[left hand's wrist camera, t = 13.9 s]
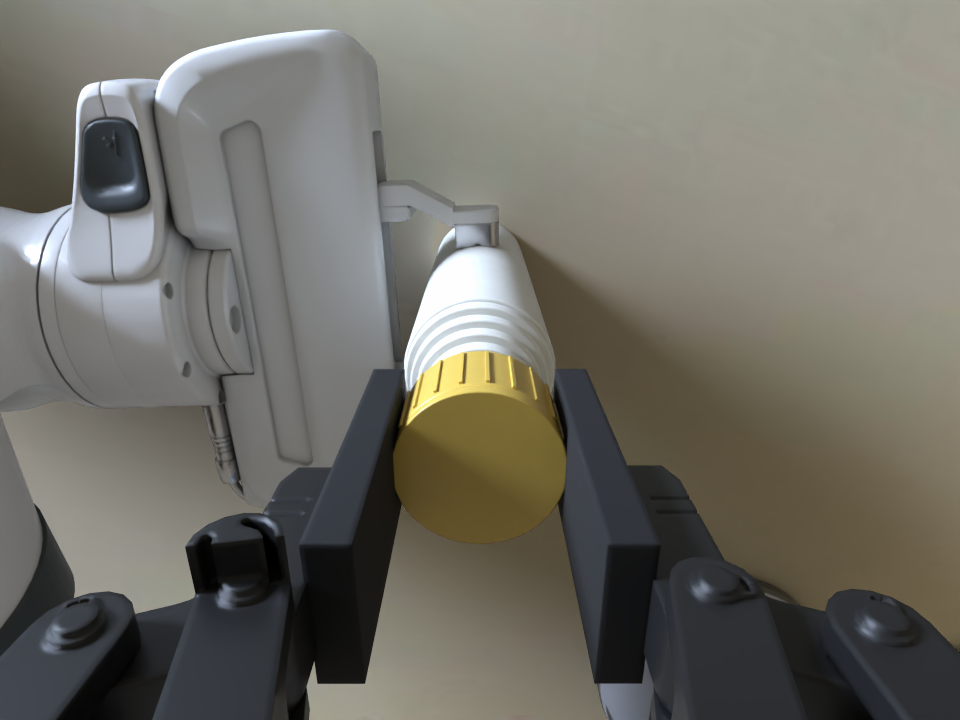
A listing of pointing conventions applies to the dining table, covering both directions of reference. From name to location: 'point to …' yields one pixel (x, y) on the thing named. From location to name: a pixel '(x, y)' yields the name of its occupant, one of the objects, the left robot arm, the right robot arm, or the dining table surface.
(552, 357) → the bottle
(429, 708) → the dining table surface
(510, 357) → the cap
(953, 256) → the dining table surface
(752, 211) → the dining table surface
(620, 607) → the left robot arm
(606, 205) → the dining table surface
